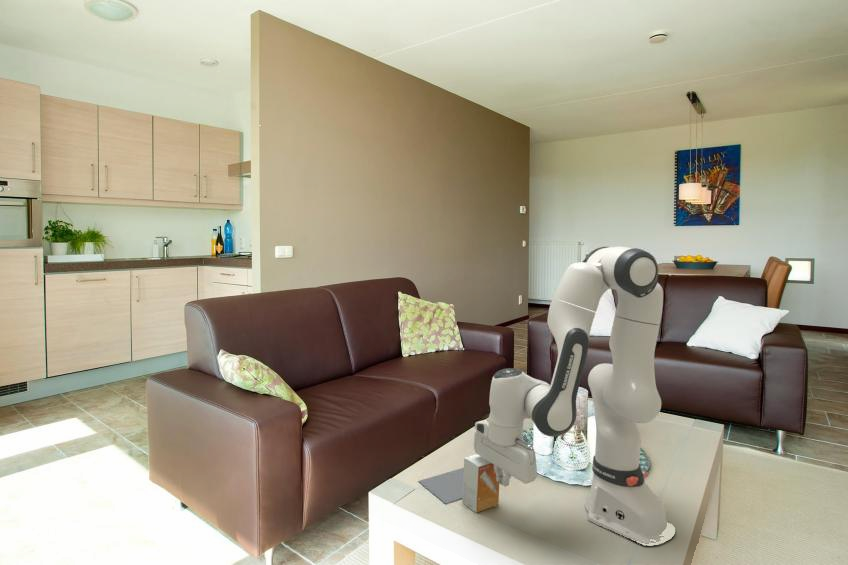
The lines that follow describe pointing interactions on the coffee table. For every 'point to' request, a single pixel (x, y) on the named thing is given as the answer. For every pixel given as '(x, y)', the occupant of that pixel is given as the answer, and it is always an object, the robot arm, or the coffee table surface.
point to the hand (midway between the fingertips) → (502, 483)
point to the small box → (479, 484)
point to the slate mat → (446, 486)
